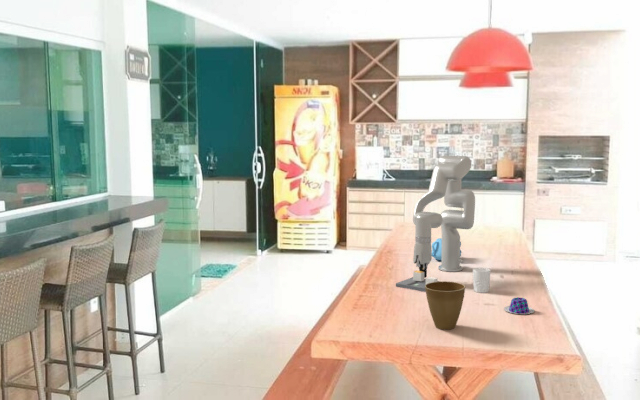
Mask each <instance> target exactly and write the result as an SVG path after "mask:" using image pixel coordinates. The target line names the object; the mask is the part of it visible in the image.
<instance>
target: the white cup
mask: <svg viewBox="0 0 640 400" xmlns="http://www.w3.org/2000/svg"><path fill="white" fill-rule="evenodd" d="M490 282H491V269H489V268H487V267H475V268H472V284H473V291H474V292H475V293H481V294H483V293H489V291H490V285H491V284H490Z"/></svg>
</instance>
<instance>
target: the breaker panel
mask: <svg viewBox="0 0 640 400" xmlns="http://www.w3.org/2000/svg"><path fill="white" fill-rule="evenodd" d="M437 282H442V281H441V280H440V281H439V280H437ZM425 285H426V278H424V281H415V280H413V276H412V277H409V278H407V279H404V280H401V281H399V282H396V283H395V287H396V288H402V289H403V288H404V289H408V290H413V291H419V292H423V293H426V290H425Z"/></svg>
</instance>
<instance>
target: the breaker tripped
mask: <svg viewBox="0 0 640 400" xmlns="http://www.w3.org/2000/svg"><path fill="white" fill-rule="evenodd" d="M412 277H413V280H415V281H424V279H425V278H424V272H423V271H419V270H414V271H413V272H412Z"/></svg>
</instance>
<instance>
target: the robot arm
mask: <svg viewBox="0 0 640 400" xmlns="http://www.w3.org/2000/svg"><path fill="white" fill-rule="evenodd" d="M471 168H472V160H471V158H470V157H469V156H466V155H441V156H440V157H438V159H437V164H435V166H434V167H433V170H432V173H431V178H430V182H429V187H428V190H427V192H426V193H424V194H423V195H422V196H421V197H420V198H419V200H418V201H417V202H416V204H415V207H414V211H413V216H412V217H413V218H412V221H413V224H414V226H415V232H414V233H415V240H414V241H415V242H414V249H413V259H412V261H413V262H412V263H414V264H416V265H415V267H417V268H418V271H423V272H424V279H426V278H428V277H427V273H428V265H429V264H430V263H431V262H432V229H437V228H439V227H440V228H441V229H440V230H441V238H442V256H441V260H440V262H441V264H440V265H439V266H438V270H439V271H442V272H443V271H444V272H450V273H451V272H453V273H455V272H461V271H463V269H464V268H463V266H462V265H460V264H462V263H463V259H461V256H460V250H461V246H460V242H461V235H460V232H459V231H458V230H471V229H472V228H473V226H474V224H475V214H476V213H475V211H476V196H475V193H474V191H472V190H470V189H462V179H463V178H464V177H465V176H466V175H467V174H468V173H469V172H470V170H471ZM443 197H444V199H443V201H444V204H445V206H446V207H449V208H458V209H463V210H458V209H446V210H445V209H444V210H443V211H441V212H440V213H439V212H431V211H424V210H425V207H426V206H427V205H429V204H430V203H432V202H436V201H438V200H439V199H442V198H443Z"/></svg>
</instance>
